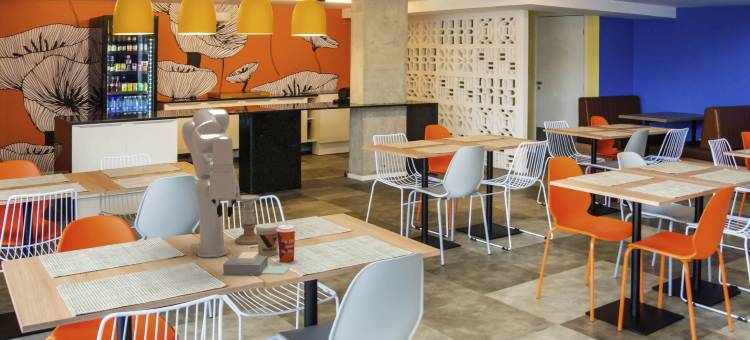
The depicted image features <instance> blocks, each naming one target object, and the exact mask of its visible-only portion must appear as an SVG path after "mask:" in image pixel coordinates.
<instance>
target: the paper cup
mask: <svg viewBox="0 0 750 340" xmlns="http://www.w3.org/2000/svg"><path fill="white" fill-rule="evenodd" d="M296 230H297V229H296V228H295V225H293V224H282V225H278V227H277V230H276V231H277V234H278V255H279V262H280V263H285V264H286V263H294V261H295V244H296V243H295V240H296V239H295V237H296Z"/></svg>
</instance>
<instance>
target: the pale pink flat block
mask: <svg viewBox="0 0 750 340" xmlns="http://www.w3.org/2000/svg"><path fill="white" fill-rule="evenodd" d="M259 256H260V255H259V252H258V251H243V252H242V253H241V254H240V255H239V257H238V258H237V263H254V262H255V261H256V260H257V259H258V257H259Z"/></svg>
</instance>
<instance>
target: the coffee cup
mask: <svg viewBox="0 0 750 340" xmlns="http://www.w3.org/2000/svg"><path fill="white" fill-rule="evenodd" d="M278 226H279V225H278V224H277V223H260V224H259V223H258V224H257V225H256V227H255V231H256V232H255V233H256V234H257V243H258V244H257V250H258V251H257V252H259V256H268V257H272V256H273V255H274V256H276V255H278V252H279V246H278V234H277V231H276V230H277V227H278Z"/></svg>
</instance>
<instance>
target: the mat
mask: <svg viewBox="0 0 750 340" xmlns="http://www.w3.org/2000/svg"><path fill="white" fill-rule="evenodd" d="M290 268H291V266H290V265H289V266H287V265H284V266H283V265H268V266H267V267H266V268H265V269H264V270H263V272H262V273H261V275H285V274H287V272H288V270H289V269H290Z"/></svg>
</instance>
